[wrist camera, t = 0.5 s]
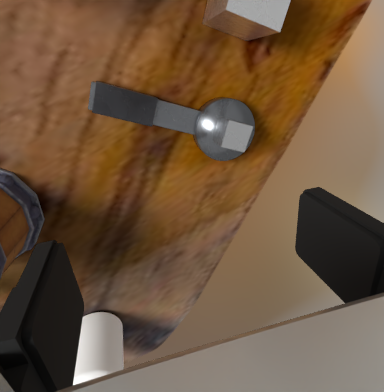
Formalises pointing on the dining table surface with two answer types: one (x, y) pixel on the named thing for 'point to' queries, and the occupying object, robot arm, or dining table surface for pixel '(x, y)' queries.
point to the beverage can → (99, 347)
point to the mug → (17, 218)
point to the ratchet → (181, 118)
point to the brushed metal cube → (246, 17)
